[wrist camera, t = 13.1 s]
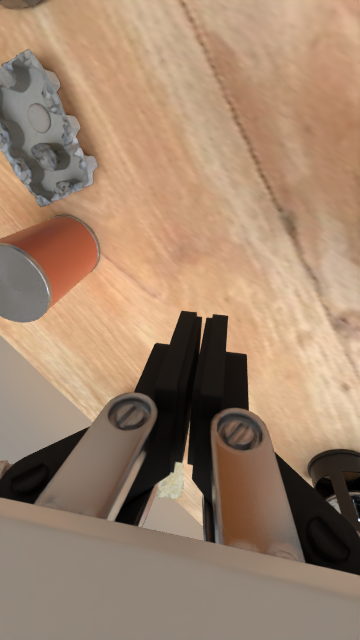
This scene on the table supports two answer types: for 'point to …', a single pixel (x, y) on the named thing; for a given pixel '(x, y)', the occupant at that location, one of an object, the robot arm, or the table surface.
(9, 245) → the tin can
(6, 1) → the black pan
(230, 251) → the table surface
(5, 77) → the egg carton
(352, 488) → the french press
